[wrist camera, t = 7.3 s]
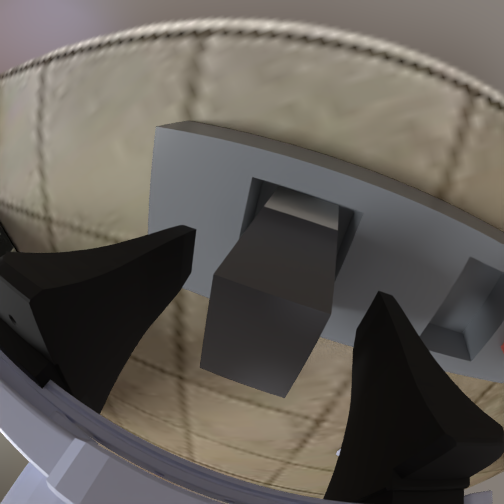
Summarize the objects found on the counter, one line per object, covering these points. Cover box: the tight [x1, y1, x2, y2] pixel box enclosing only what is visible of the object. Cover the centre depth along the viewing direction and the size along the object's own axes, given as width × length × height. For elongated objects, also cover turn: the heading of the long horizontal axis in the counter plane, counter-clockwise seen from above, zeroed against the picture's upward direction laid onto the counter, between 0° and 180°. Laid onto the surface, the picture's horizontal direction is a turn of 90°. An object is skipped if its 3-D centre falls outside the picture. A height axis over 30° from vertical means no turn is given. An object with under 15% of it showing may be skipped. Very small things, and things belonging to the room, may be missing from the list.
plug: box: [200, 186, 339, 398], centre depth 11 cm, size 3×4×8 cm
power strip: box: [148, 121, 504, 383], centre depth 13 cm, size 24×8×4 cm, turn 78°
